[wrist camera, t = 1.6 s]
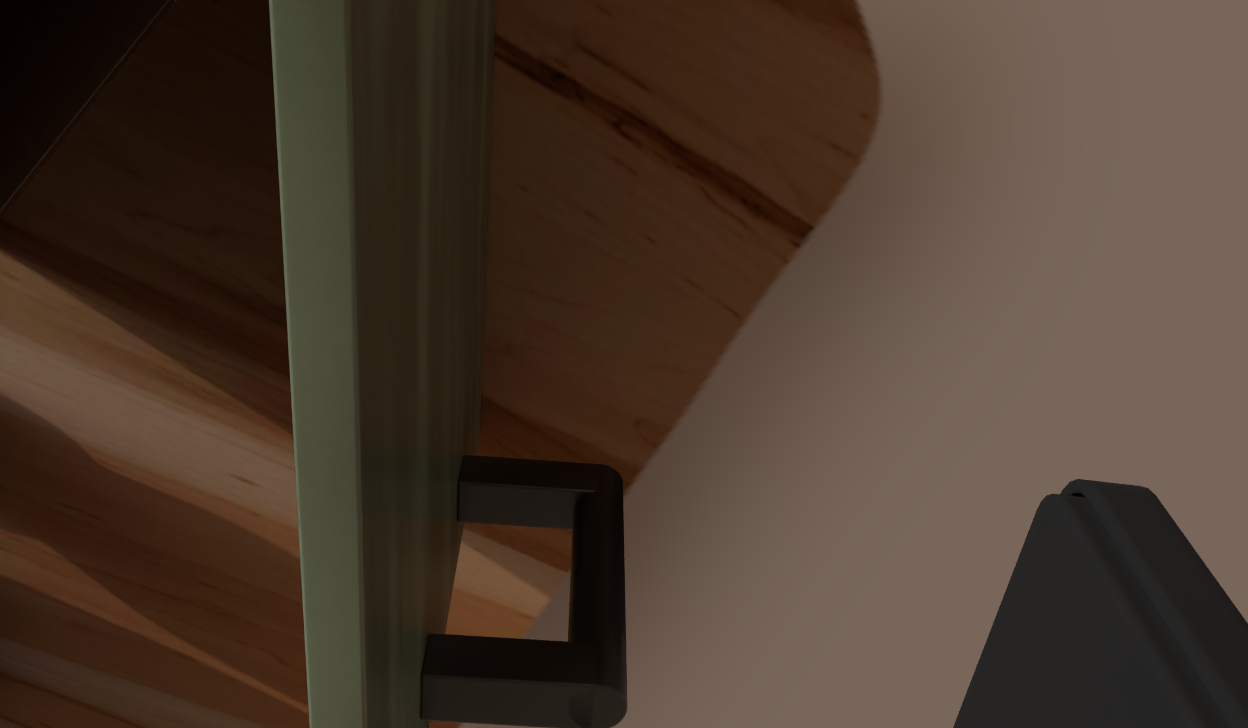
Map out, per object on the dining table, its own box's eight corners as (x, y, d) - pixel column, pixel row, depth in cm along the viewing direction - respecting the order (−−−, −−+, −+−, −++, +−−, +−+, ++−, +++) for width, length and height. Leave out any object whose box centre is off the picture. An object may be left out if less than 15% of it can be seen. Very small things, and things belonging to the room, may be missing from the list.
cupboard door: (694, -326, 33) (842, -378, 12) (613, 442, 46) (619, 1054, 25) (474, -350, 33) (242, -445, 12) (454, 431, 46) (326, 1042, 25)
